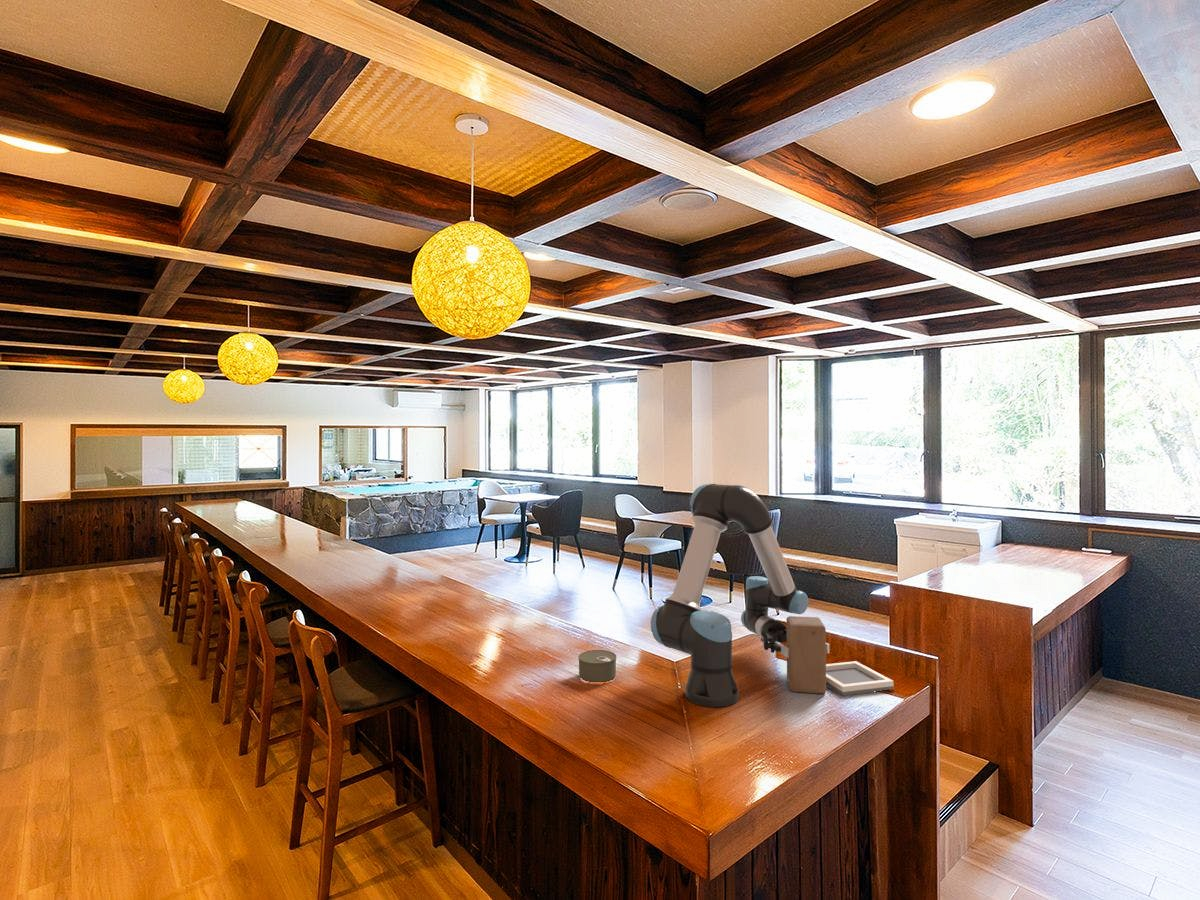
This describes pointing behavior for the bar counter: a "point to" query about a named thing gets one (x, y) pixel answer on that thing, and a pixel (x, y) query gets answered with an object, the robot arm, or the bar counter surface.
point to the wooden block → (806, 654)
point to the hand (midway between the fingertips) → (808, 651)
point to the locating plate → (855, 679)
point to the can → (597, 666)
